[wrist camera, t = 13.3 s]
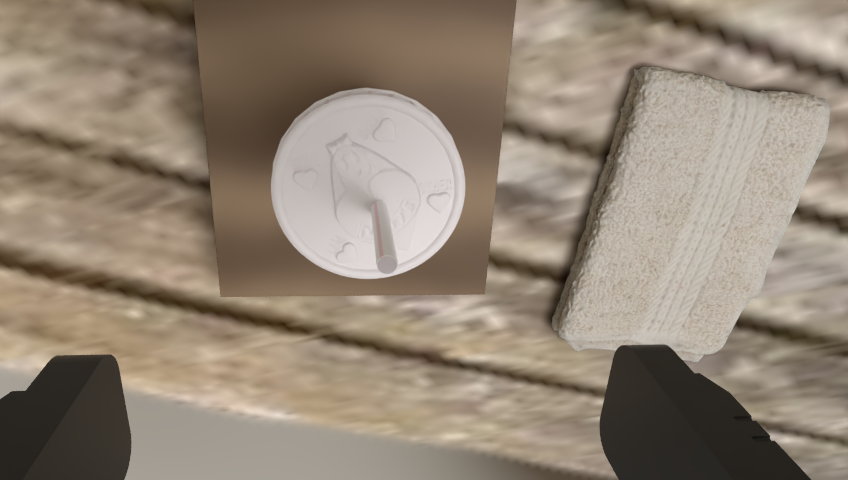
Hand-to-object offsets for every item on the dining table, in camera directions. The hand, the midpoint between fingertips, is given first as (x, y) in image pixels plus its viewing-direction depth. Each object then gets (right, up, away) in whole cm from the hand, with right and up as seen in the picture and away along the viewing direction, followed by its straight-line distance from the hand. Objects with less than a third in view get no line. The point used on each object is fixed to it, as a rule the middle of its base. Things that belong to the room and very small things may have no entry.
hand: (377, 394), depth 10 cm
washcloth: (+16, +4, +27) cm, 32 cm away
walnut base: (-3, +9, +22) cm, 24 cm away
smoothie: (-2, +8, +18) cm, 20 cm away
